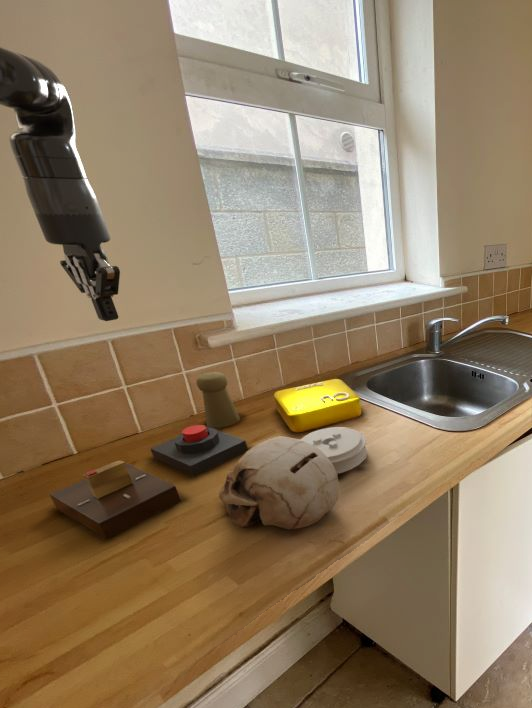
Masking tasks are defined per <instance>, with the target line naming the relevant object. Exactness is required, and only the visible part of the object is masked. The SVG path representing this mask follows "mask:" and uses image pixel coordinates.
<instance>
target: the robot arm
mask: <svg viewBox="0 0 532 708" xmlns="http://www.w3.org/2000/svg"><path fill="white" fill-rule="evenodd" d="M0 106H3V107H6V108H8V109H13V111H14V116H15V120H16V126H17V130H16V131H14V132H12V133H11V134H10V135H9V136H8V142H9V145H10V149H11V152H12V155H13V156H14V160H15V162H16V164H17V167H18V169H19V172H20V174H21V176H22V179H23V183H24V187H25V191H26V195H27V197H28V200H29V202H30V205H31V208H32V211H33V212H34V215H35V218H36V220H37V222H38V224H39V228H40V230H41V232H42V235H43V237H44V239H45V241H46V242H47V243H49V244H52V245H57V246H58V245H59V246H60V245H61V246H62V249H63V253H64V256H63V257H64V260H60V262H59V264H60V266H61V268H63V269H64V271H65V273H66V274H67V275H68V277H69V278H70V279H71V282H73V284H74V285H75V287H76V288H77V289H78V290H79V292H80V293H81V294H85V295H86V296H87V298H88V299H90V300H91V302H92V305H93V308H94V311H95V313H96V316H97V318H98V319H99V320H100V321H104V322H110V321H111V322H112V321H116V320H118V319H119V314H118V311H117V309H116V306H115V302H114V300H113V297H114V296H115V295H119V289H120V287H119V286H120V276H121V275H120V274H121V271H120V268H119V267H118V266H117V265H112V266H111V265H110V262H109V259H108V256H107V255H106V253H105V252H104V250H103V248H102V246H101V245H102V244H104V243H105V244H106V243H108V242H110V240H111V236H110V233H109V230H108V228H107V225H106V222H105V218H104V216H103V213H102V210H101V207H100V203H99V201H98V198H97V196H96V194H95V191H94V189H93V187H92V186H91V183H90V181H89V179H88V176H87V173H86V170H85V167H84V165H83V161H82V159H81V156H80V154H79V151H78V149H77V142H76V127H75V119H74V113H73V108H72V103H71V99H70V97H69V95H68V92H67V90H66V87H65V86H64V84H63V82H62V81H61V80H60V78H59V77H58V75H57V74H56V73H55V72H54V71H53V70H52V69H51V68H50V67H48V66H47V65H45V64H44V63H43V62H41V61H39V60H38V59H35V58H32V57H29V56H27V55H24V54H22V53H19V52H16V51H13V50H10V49H7V48H4V47H1V46H0Z"/></svg>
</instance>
